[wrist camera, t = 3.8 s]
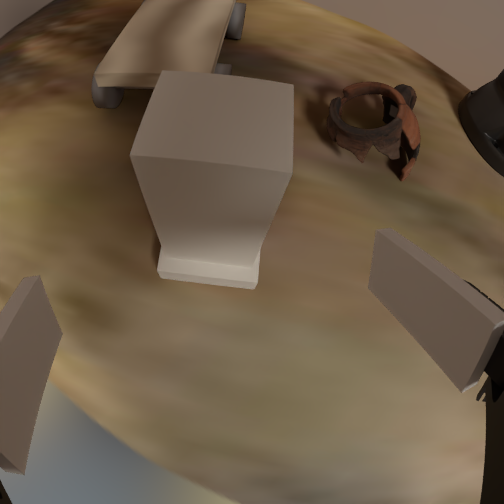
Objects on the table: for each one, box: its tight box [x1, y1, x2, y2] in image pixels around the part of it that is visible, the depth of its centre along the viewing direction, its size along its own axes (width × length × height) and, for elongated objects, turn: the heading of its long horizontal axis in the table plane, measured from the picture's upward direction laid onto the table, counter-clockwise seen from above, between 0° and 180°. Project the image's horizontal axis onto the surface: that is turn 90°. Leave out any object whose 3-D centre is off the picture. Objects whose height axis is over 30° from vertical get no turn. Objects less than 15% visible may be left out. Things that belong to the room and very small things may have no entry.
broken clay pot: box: [327, 82, 420, 181], centre depth 29 cm, size 12×10×8 cm
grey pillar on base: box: [130, 70, 294, 289], centre depth 19 cm, size 7×7×14 cm
